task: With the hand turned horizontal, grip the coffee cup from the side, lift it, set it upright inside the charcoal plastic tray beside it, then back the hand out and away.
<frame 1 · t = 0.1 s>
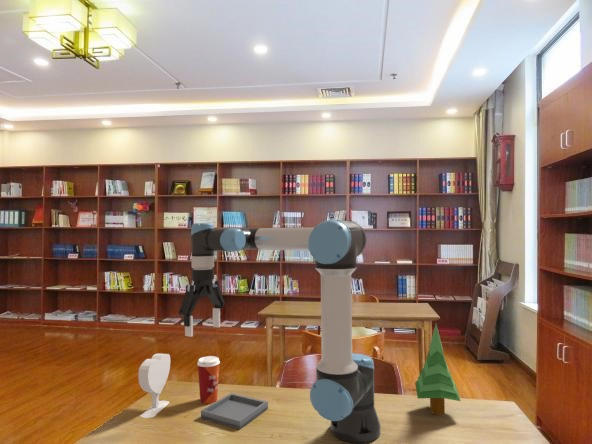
hand: (203, 331, 137), 28 cm above the table, tool pointing down, fingers open, 13 cm apart
decorative tree: (437, 412, 137), on the table
heart sculpture: (155, 409, 141), on the table
tray: (235, 413, 137), on the table
coffee cup: (208, 400, 147), on the table
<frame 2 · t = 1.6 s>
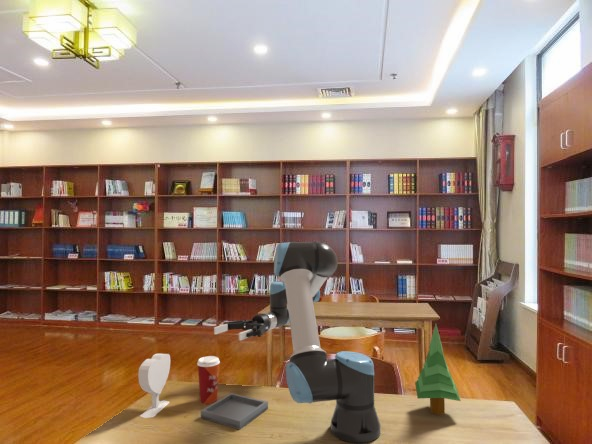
hand: (226, 333, 154), 22 cm above the table, tool horizontal, fingers open, 13 cm apart
nothing on the table moved.
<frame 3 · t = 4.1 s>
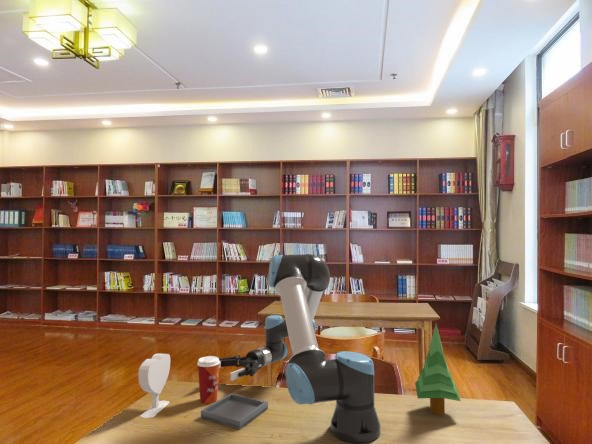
hand: (218, 372, 152), 8 cm above the table, tool horizontal, fingers open, 13 cm apart
nothing on the table moved.
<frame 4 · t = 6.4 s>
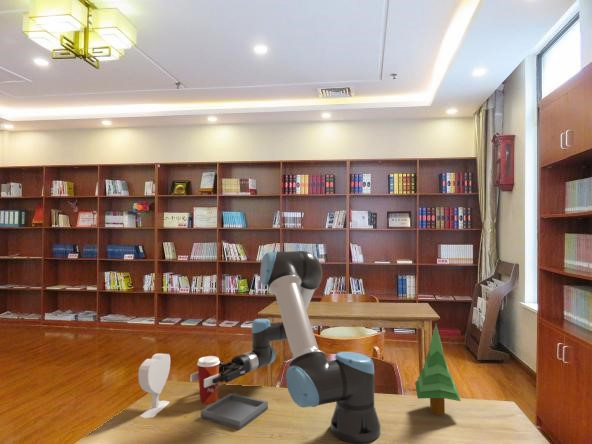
hand: (197, 380, 144), 9 cm above the table, tool horizontal, fingers closed on coffee cup, 7 cm apart
coffee cup: (208, 400, 147), on the table, touching gripper
everything else where it was.
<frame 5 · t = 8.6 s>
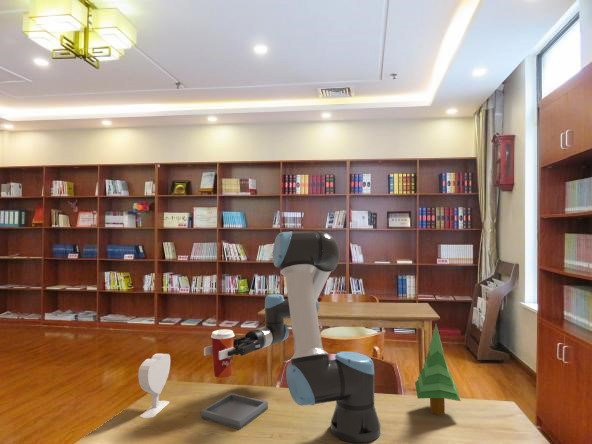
hand: (212, 353, 138), 20 cm above the table, tool horizontal, fingers closed on coffee cup, 7 cm apart
coffee cup: (223, 375, 142), point 11 cm above the table, touching gripper
everything else where it was.
when the fingers open (11 cm above the table, at t = 11.2 s): coffee cup drops 1 cm, resting on tray.
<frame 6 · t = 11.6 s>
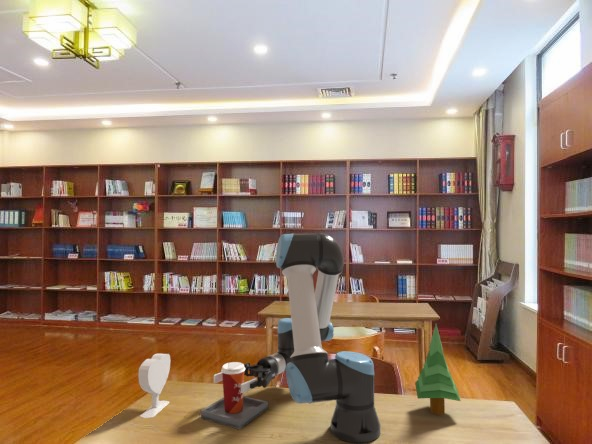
hand: (227, 383, 134), 11 cm above the table, tool horizontal, fingers open, 13 cm apart
coffee cup: (233, 410, 137), point 1 cm above the table, touching tray
everything else where it was.
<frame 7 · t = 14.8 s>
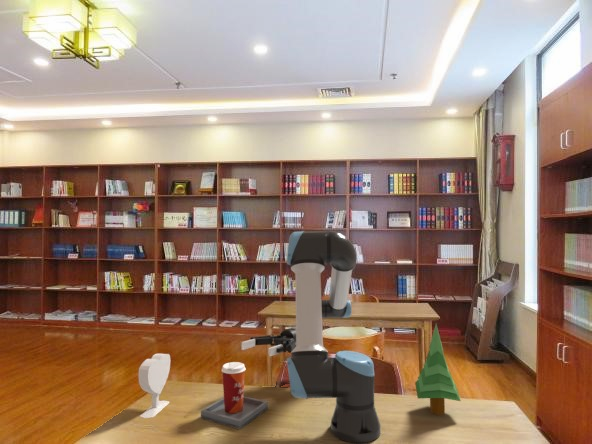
hand: (255, 349, 145), 19 cm above the table, tool horizontal, fingers open, 13 cm apart
nothing on the table moved.
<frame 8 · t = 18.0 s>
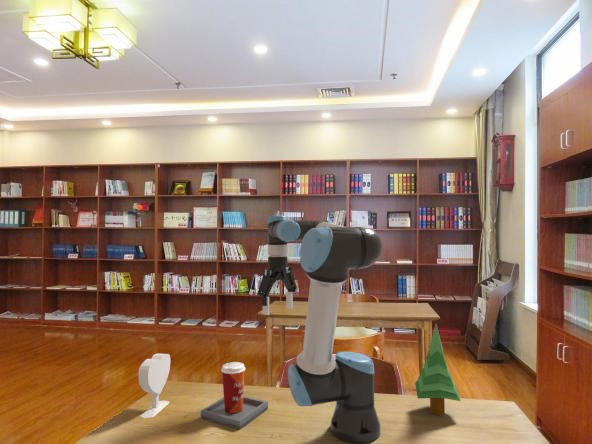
hand: (278, 311, 154), 31 cm above the table, tool pointing down, fingers open, 13 cm apart
nothing on the table moved.
at the end: coffee cup inside the target area on the tray (0.9 cm from its centre), point 0.8 cm above the tray's base; coffee cup tilted 1°; the gripper is holding nothing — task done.
